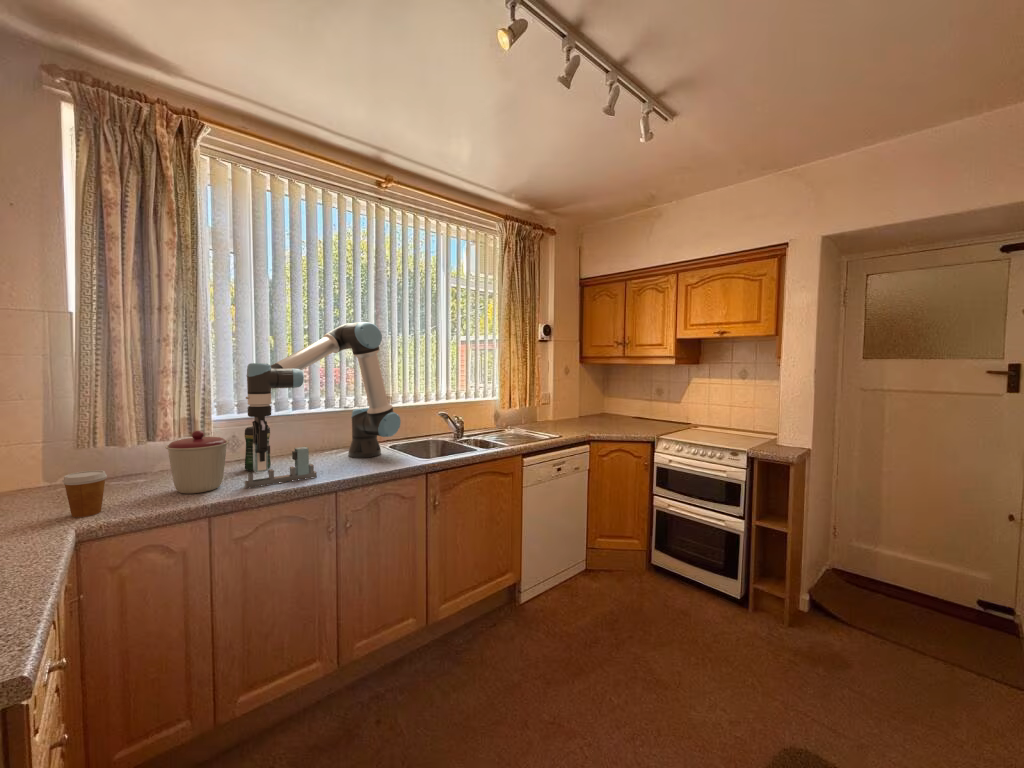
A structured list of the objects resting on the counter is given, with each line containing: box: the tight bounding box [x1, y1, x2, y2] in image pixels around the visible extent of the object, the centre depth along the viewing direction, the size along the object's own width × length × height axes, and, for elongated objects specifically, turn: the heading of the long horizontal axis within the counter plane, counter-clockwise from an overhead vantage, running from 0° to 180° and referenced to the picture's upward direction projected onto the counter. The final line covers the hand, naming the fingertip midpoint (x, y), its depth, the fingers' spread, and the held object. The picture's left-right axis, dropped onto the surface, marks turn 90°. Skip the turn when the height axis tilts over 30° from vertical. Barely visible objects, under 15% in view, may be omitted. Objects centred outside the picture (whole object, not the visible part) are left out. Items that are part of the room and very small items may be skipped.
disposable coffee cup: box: [61, 469, 108, 518], centre depth 129 cm, size 10×10×12 cm
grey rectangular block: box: [253, 443, 271, 473], centre depth 160 cm, size 5×4×10 cm
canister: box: [165, 430, 230, 494], centre depth 153 cm, size 18×18×21 cm
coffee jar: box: [244, 425, 272, 472], centre depth 184 cm, size 10×8×19 cm
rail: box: [244, 446, 318, 489], centre depth 165 cm, size 24×4×12 cm, turn 130°
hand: (260, 468), depth 160 cm, fingers closed on grey rectangular block, 4 cm apart
